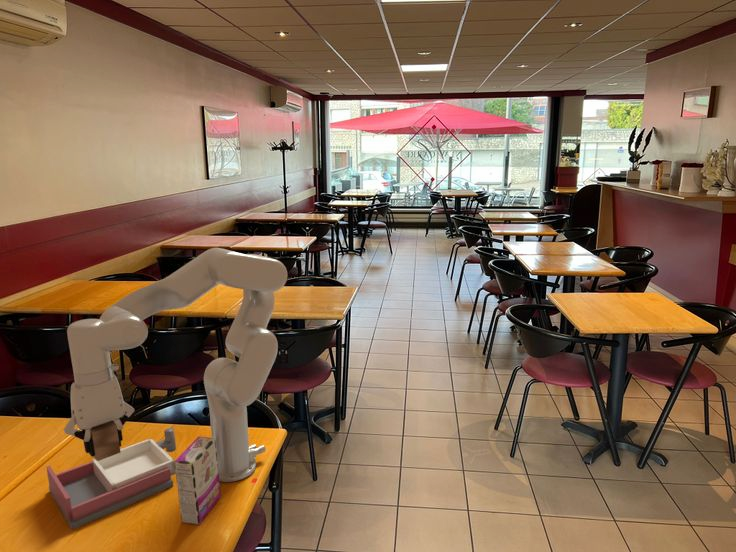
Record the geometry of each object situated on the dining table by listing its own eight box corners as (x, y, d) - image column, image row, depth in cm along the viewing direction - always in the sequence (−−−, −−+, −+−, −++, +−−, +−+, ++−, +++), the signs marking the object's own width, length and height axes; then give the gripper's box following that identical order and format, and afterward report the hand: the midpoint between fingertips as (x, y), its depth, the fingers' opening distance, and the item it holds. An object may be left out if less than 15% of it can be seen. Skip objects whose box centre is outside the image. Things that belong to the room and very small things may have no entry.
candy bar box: (203, 494, 135) (198, 435, 132) (221, 496, 134) (216, 437, 131) (179, 523, 125) (173, 460, 121) (199, 526, 124) (193, 462, 120)
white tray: (168, 444, 156) (166, 422, 154) (192, 466, 145) (190, 443, 143) (93, 473, 142) (90, 449, 141) (114, 499, 131) (110, 474, 129)
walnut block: (113, 444, 125) (109, 417, 124) (120, 452, 122) (116, 424, 120) (90, 452, 122) (85, 424, 121) (97, 461, 119) (92, 432, 117)
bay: (143, 455, 153) (140, 431, 152) (173, 485, 139) (170, 459, 137) (49, 491, 137) (45, 465, 136) (71, 529, 123) (67, 501, 121)
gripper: (127, 359, 126) (136, 429, 130) (45, 381, 115) (58, 457, 119) (139, 368, 121) (148, 441, 125) (54, 392, 109) (68, 471, 114)
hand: (104, 448), depth 122 cm, fingers closed on walnut block, 5 cm apart
